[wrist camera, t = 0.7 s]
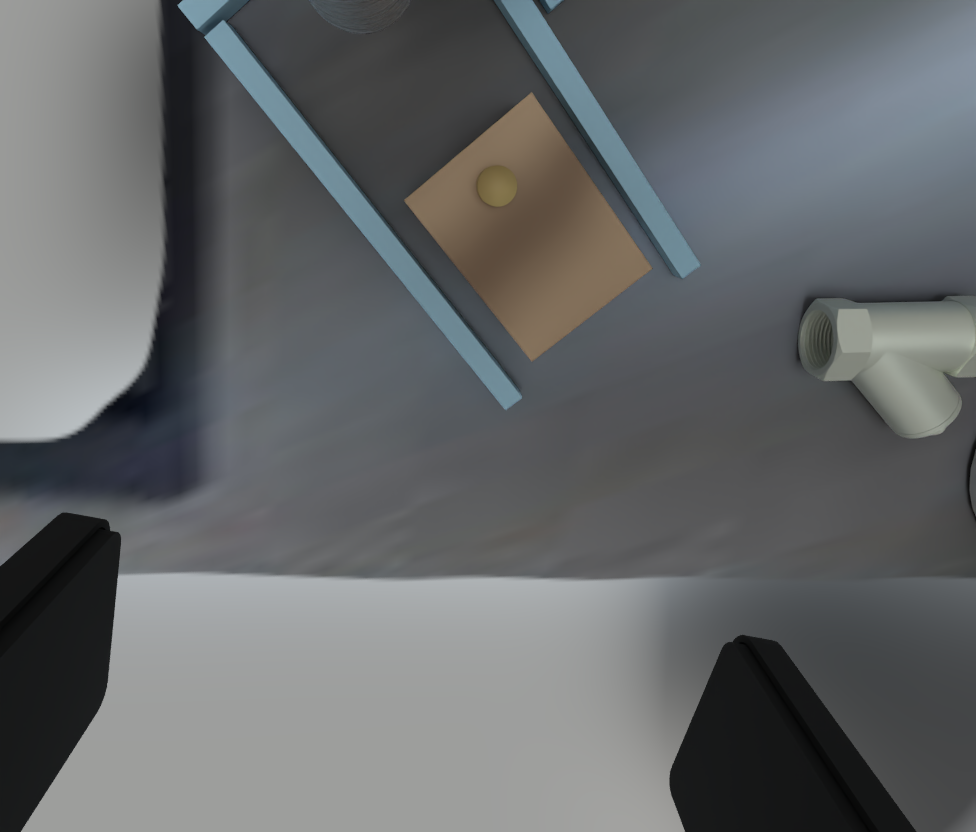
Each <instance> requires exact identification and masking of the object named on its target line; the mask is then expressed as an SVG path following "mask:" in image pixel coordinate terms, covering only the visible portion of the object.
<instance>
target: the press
mask: <svg viewBox="0 0 976 832" xmlns="http://www.w3.org/2000/svg"><path fill="white" fill-rule="evenodd" d="M248 1H249V0H183V1H182V2H181V3H180V4H179V5H178V7H179V8H180V9H181V11H182V12H183V13H184V14H185V16H186V17H187V18H188V19H189V21H190V22H191V23H192V24H193V25H194V27H195V28H196V29H197V30H198V31H200V32H202V33H203V34H205V35H206V36H205V39H206V40H207V41H208V42H209V44H210V45H211V46H212V47H213V49H214V50H215V51H216V52H217V54H218V55H219V56H220V57H221V59H222V60H223V61H224V62H225V63H226V65H227V66H228V67H229V68H230V70H231V71H232V72H233V73H234V75H235V76H236V77H237V78H238V80H239V81H240V82H241V83H242V85H243V86H244V87H245V88H246V89H247V91H248V92H249V93H250V94H251V96H252V97H253V98H254V99H255V101H256V102H257V103H258V104H259V106H260V107H261V108H262V109H263V111H264V112H265V113H266V114H267V116H268V117H269V118H270V119H271V120H272V122H273V123H274V124H275V125H276V127H277V128H278V129H279V130H280V132H281V133H282V134H283V135H284V137H285V138H286V139H287V140H288V142H289V143H290V144H291V145H292V146H293V148H294V149H295V150H296V151H297V153H298V154H299V155H300V156H301V158H302V159H303V160H304V161H305V163H306V164H307V165H308V166H309V168H310V169H311V170H312V171H313V172H314V174H315V175H316V176H317V177H318V179H319V180H320V181H321V182H322V184H323V185H324V186H325V187H326V189H327V190H328V191H329V192H330V194H331V195H332V196H333V197H334V198H335V200H336V201H337V202H338V203H339V205H340V206H341V207H342V208H343V210H344V211H345V212H346V213H347V215H348V216H349V217H350V218H351V220H352V221H353V222H354V223H355V224H356V226H357V227H358V228H359V229H360V231H361V232H362V233H363V234H364V236H365V237H366V238H367V239H368V241H369V242H370V243H371V244H372V246H373V247H374V248H375V249H376V250H377V252H378V253H379V254H380V255H381V257H382V258H383V259H384V260H385V262H386V263H387V264H388V265H389V267H390V268H391V269H392V270H393V272H394V273H395V274H396V275H397V276H398V278H399V279H400V280H401V281H402V283H403V284H404V285H405V286H406V288H407V289H408V290H409V291H410V293H411V294H412V295H413V296H414V298H415V299H416V300H417V301H418V302H419V304H420V305H421V306H422V307H423V309H424V310H425V311H426V312H427V314H428V315H429V316H430V317H431V319H432V320H433V321H434V322H435V324H436V325H437V326H438V327H439V328H440V330H441V331H442V332H443V333H444V335H445V336H446V337H447V338H448V340H449V341H450V342H451V343H452V345H453V346H454V347H455V348H456V350H457V351H458V352H459V353H460V354H461V356H462V357H463V358H464V359H465V361H466V362H467V363H468V364H469V366H470V367H471V368H472V369H473V371H474V372H475V373H476V374H477V376H478V377H479V378H480V379H481V380H482V382H483V383H484V384H485V385H486V387H487V388H488V389H489V390H490V392H491V393H492V394H493V395H494V397H495V398H496V399H497V400H498V402H499V403H500V404H501V405H502V407H503V408H504V409H505V410H507V409H508V408H509V407H511V406H512V405H513V404H515V403H516V402H517V401H519V400H520V399H521V398H522V395H521V393H520V390H519V389H518V388H517V386H516V385H515V384H514V382H513V381H512V380H511V379H510V377H509V376H508V375H507V374H506V372H505V371H504V370H503V369H502V367H501V366H500V365H499V363H498V362H497V361H496V360H495V358H494V357H493V356H492V355H491V353H490V352H489V351H488V350H487V348H486V347H485V346H484V344H483V343H482V342H481V341H480V339H479V338H478V337H477V336H476V334H475V333H474V332H473V331H472V329H471V328H470V327H469V325H468V324H467V323H466V322H465V320H464V319H463V318H462V317H461V315H460V314H459V313H458V312H457V310H456V309H455V308H454V307H453V305H452V304H451V303H450V301H449V300H448V299H447V298H446V296H445V295H444V294H443V293H442V291H441V290H440V289H439V288H438V286H437V285H436V284H435V282H434V281H433V280H432V279H431V277H430V276H429V275H428V274H427V272H426V271H425V270H424V269H423V267H422V266H421V265H420V263H419V262H418V261H417V260H416V258H415V257H414V256H413V255H412V253H411V252H410V251H409V250H408V248H407V247H406V246H405V244H404V243H403V242H402V241H401V239H400V238H399V237H398V236H397V234H396V233H395V232H394V231H393V229H392V228H391V227H390V225H389V224H388V223H387V222H386V220H385V219H384V218H383V217H382V215H381V214H380V213H379V212H378V210H377V209H376V208H375V206H374V205H373V204H372V203H371V201H370V200H369V199H368V198H367V196H366V195H365V194H364V193H363V191H362V190H361V189H360V187H359V186H358V185H357V184H356V182H355V181H354V180H353V179H352V177H351V176H350V175H349V174H348V172H347V171H346V170H345V168H344V167H343V166H342V165H341V163H340V162H339V161H338V160H337V158H336V157H335V156H334V155H333V153H332V152H331V151H330V150H329V148H328V147H327V146H326V144H325V143H324V142H323V141H322V139H321V138H320V137H319V136H318V134H317V133H316V132H315V131H314V129H313V128H312V127H311V125H310V124H309V123H308V122H307V120H306V119H305V118H304V117H303V115H302V114H301V113H300V112H299V110H298V109H297V108H296V106H295V105H294V104H293V103H292V101H291V100H290V99H289V98H288V96H287V95H286V94H285V93H284V91H283V90H282V89H281V87H280V86H279V85H278V84H277V82H276V81H275V80H274V79H273V77H272V76H271V75H270V74H269V72H268V71H267V70H266V68H265V67H264V66H263V65H262V63H261V62H260V61H259V60H258V58H257V57H256V56H255V55H254V53H253V52H252V51H251V49H250V48H249V47H248V46H247V44H246V43H245V42H244V41H243V39H242V38H241V37H240V36H239V34H238V33H237V32H236V30H235V29H234V28H233V27H232V26H231V25H230V24H229V23H227V22H226V21H227V20H228V19H230V18H231V17H232V16H233V15H234V14H235V13H236V12H237V11H238V10H239V9H240V8H242V7H243V6H244V5H245V4H246V3H247V2H248ZM539 1H540V2H541V4H542V6H543V7H544V9H545V10H546V12H547V13H550V12H551V11H552V10H553V9H554V8H556V7H557V6H558V5H559V4H560V3H562V2H563V1H564V0H539ZM494 2H495V3H496V5H497V6H498V8H499V9H500V11H501V12H502V14H503V15H504V17H505V19H506V20H507V22H508V23H509V25H510V26H511V28H512V29H513V31H514V32H515V34H516V35H517V37H518V38H519V40H520V41H521V43H522V44H523V46H524V48H525V49H526V51H527V52H528V54H529V55H530V57H531V58H532V60H533V61H534V63H535V64H536V66H537V67H538V69H539V70H540V72H541V73H542V75H543V77H544V78H545V80H546V81H547V83H548V84H549V86H550V87H551V89H552V90H553V92H554V93H555V95H556V96H557V98H558V99H559V101H560V102H561V104H562V106H563V107H564V109H565V110H566V112H567V113H568V115H569V116H570V118H571V119H572V121H573V122H574V124H575V125H576V127H577V128H578V130H579V131H580V133H581V135H582V136H583V138H584V139H585V141H586V142H587V144H588V145H589V147H590V148H591V150H592V151H593V153H594V154H595V156H596V157H597V159H598V160H599V162H600V163H601V165H602V167H603V168H604V170H605V171H606V173H607V174H608V176H609V177H610V179H611V180H612V182H613V183H614V185H615V186H616V188H617V189H618V191H619V192H620V194H621V196H622V197H623V199H624V200H625V202H626V203H627V205H628V206H629V208H630V209H631V211H632V212H633V214H634V215H635V217H636V218H637V220H638V221H639V223H640V225H641V226H642V228H643V229H644V231H645V232H646V234H647V235H648V237H649V238H650V240H651V241H652V243H653V244H654V246H655V247H656V249H657V250H658V252H659V254H660V255H661V257H662V258H663V260H664V261H665V263H666V264H667V266H668V267H669V269H670V270H671V272H672V273H673V275H674V276H677V277H679V278H682V279H683V278H684V277H686V276H687V275H688V274H690V273H691V272H692V271H694V270H695V269H696V268H698V267H699V266H700V265H701V264H700V263H699V261H698V260H697V258H696V256H695V255H694V253H693V252H692V250H691V249H690V247H689V245H688V244H687V242H686V241H685V239H684V238H683V236H682V234H681V233H680V231H679V230H678V228H677V227H676V225H675V223H674V222H673V220H672V219H671V217H670V216H669V214H668V212H667V211H666V209H665V208H664V206H663V205H662V203H661V201H660V200H659V198H658V197H657V195H656V194H655V192H654V190H653V189H652V187H651V186H650V184H649V183H648V181H647V179H646V178H645V176H644V175H643V173H642V172H641V170H640V168H639V167H638V165H637V164H636V162H635V161H634V159H633V157H632V156H631V154H630V153H629V151H628V150H627V148H626V146H625V145H624V143H623V142H622V140H621V139H620V137H619V135H618V134H617V132H616V131H615V129H614V128H613V126H612V124H611V123H610V121H609V120H608V118H607V117H606V115H605V113H604V112H603V110H602V109H601V107H600V106H599V104H598V102H597V101H596V99H595V98H594V96H593V95H592V93H591V91H590V90H589V88H588V87H587V85H586V84H585V82H584V80H583V79H582V77H581V76H580V74H579V73H578V71H577V69H576V68H575V66H574V65H573V63H572V62H571V60H570V58H569V57H568V55H567V54H566V52H565V51H564V49H563V48H562V46H561V44H560V43H559V41H558V40H557V38H556V37H555V35H554V33H553V32H552V30H551V29H550V27H549V26H548V24H547V22H546V21H545V19H544V18H543V16H542V15H541V13H540V11H539V10H538V8H537V7H536V5H535V4H534V2H533V0H494Z"/></svg>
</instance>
